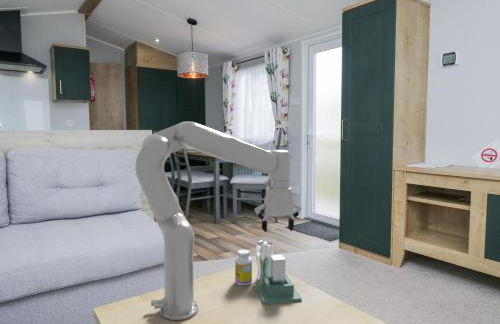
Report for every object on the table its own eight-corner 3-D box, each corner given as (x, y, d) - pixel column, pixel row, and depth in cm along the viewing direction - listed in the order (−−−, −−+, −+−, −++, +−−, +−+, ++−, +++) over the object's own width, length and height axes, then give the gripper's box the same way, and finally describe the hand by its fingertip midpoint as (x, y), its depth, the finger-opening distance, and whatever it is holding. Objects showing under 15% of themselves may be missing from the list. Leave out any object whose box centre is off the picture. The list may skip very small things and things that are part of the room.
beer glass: (271, 283, 142) (272, 246, 141) (254, 281, 144) (254, 245, 142) (273, 276, 149) (274, 241, 147) (257, 274, 150) (257, 239, 149)
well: (263, 304, 126) (263, 290, 125) (255, 286, 140) (255, 274, 139) (301, 300, 129) (301, 287, 128) (289, 283, 142) (290, 271, 142)
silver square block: (272, 294, 131) (273, 260, 130) (269, 288, 136) (270, 255, 134) (284, 293, 132) (285, 259, 131) (281, 287, 137) (282, 254, 135)
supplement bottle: (233, 279, 145) (233, 249, 144) (248, 277, 147) (249, 247, 146) (237, 287, 139) (237, 255, 137) (253, 285, 141) (254, 253, 139)
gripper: (257, 186, 124) (256, 234, 126) (305, 185, 127) (303, 232, 129) (253, 182, 131) (252, 228, 133) (298, 182, 134) (296, 226, 136)
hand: (277, 230), depth 131 cm, fingers open, 9 cm apart
